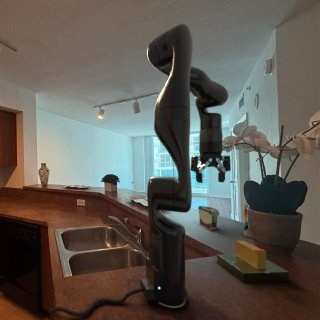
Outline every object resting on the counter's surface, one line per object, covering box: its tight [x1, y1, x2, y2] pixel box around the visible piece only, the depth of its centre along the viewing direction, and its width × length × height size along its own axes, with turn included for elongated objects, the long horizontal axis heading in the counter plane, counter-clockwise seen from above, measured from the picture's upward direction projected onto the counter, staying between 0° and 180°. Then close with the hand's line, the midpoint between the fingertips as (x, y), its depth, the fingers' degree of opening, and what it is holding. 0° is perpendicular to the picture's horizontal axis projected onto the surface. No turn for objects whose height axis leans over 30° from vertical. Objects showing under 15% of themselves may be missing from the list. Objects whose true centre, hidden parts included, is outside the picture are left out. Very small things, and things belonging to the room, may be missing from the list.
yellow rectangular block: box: [235, 240, 267, 269], centre depth 64 cm, size 8×3×6 cm, turn 2°
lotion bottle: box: [243, 202, 252, 239], centre depth 91 cm, size 6×6×20 cm
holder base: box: [216, 252, 290, 284], centre depth 64 cm, size 14×12×3 cm
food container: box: [198, 205, 220, 232], centre depth 103 cm, size 12×6×10 cm, turn 179°
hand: (210, 182), depth 75 cm, fingers open, 8 cm apart
